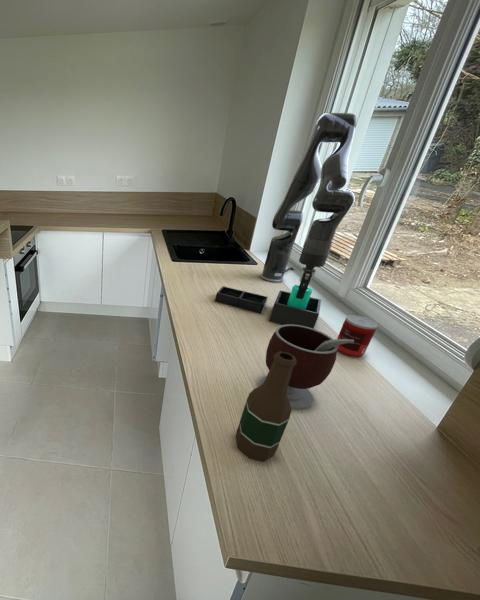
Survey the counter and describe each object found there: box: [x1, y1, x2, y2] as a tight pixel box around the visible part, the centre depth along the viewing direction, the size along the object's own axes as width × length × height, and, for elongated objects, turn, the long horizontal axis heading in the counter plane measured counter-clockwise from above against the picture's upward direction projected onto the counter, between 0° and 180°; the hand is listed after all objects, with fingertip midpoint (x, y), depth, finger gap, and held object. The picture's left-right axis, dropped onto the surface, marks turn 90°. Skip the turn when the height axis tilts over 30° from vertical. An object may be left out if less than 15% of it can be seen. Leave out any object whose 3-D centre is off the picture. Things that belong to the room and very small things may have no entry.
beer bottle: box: [235, 351, 297, 463], centre depth 64 cm, size 8×8×24 cm
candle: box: [287, 284, 313, 310], centre depth 118 cm, size 6×6×12 cm
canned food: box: [336, 314, 379, 358], centre depth 101 cm, size 8×8×11 cm
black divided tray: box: [214, 285, 268, 315], centre depth 132 cm, size 9×18×4 cm, turn 53°
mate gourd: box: [258, 324, 354, 410], centre depth 80 cm, size 16×14×20 cm
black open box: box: [268, 290, 322, 329], centre depth 120 cm, size 15×14×8 cm
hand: (300, 295), depth 117 cm, fingers closed on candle, 6 cm apart
